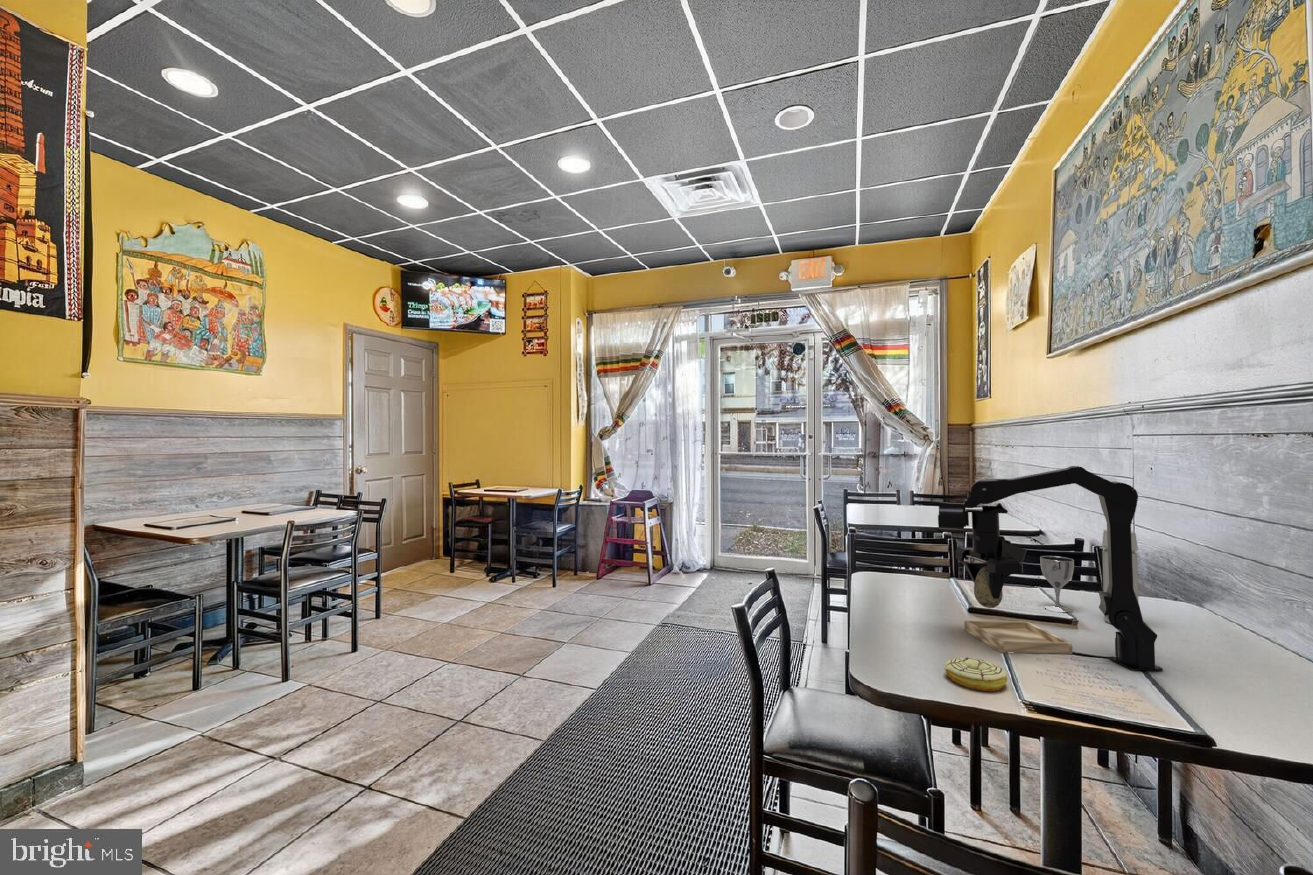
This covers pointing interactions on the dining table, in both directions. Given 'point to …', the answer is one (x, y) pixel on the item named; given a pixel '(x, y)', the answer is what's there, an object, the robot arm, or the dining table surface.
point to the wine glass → (1057, 573)
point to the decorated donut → (976, 674)
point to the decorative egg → (985, 591)
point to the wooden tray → (1017, 637)
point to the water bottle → (1105, 564)
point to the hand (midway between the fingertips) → (988, 595)
